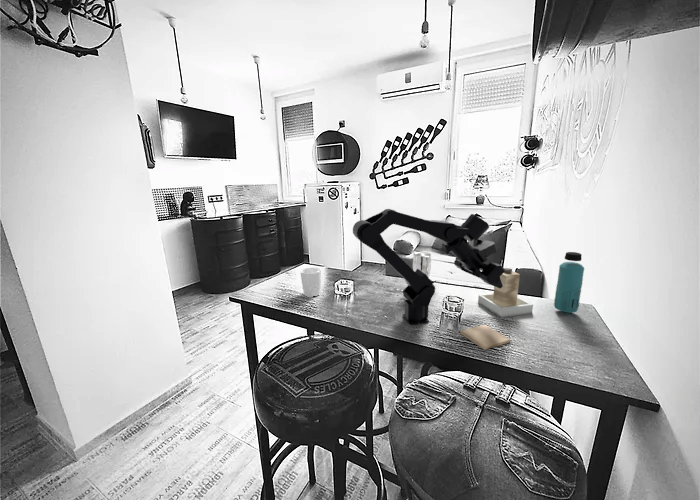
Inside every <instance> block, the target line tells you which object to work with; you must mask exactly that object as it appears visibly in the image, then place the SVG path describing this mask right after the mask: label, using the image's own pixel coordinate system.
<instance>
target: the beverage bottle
mask: <svg viewBox="0 0 700 500" xmlns="http://www.w3.org/2000/svg"><path fill="white" fill-rule="evenodd" d="M564 260H566V261H564V262H562V263H561V264H560V265H559V269H558V275H557V283H556V285H555V287H556V288H555V295H554V298H553V299H554V302H553V307H554V308H555V309H556V310H558V311H561V312H565V313H573V314H574V313H577V312H578V311H579V310H578V309H579V308H580V301H581V299H580V298H581V293H582V286H583V281H584V272H585V267H584V266H583V265H582V264H581V263H579V262H581V261H582V253H580V252H577V251H567V252H565V255H564Z"/></svg>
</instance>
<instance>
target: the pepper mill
mask: <svg viewBox="0 0 700 500" xmlns="http://www.w3.org/2000/svg"><path fill="white" fill-rule="evenodd" d="M503 268H504V269H505V272H504V273H503V274H502V275H501V276H500V279H501V282H502V285H503V287H502V288H501V289H500V288H498V287H495V286H493V293H494V294H493V302H494V303H495V304H497V305H498V306H500V307H509V306H516V303H517V297H518V294H519V286H520V284H519V283H520V276H521V275H520V273H518V272H515V271H513V268H509V267H503Z"/></svg>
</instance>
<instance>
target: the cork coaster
mask: <svg viewBox="0 0 700 500" xmlns="http://www.w3.org/2000/svg"><path fill="white" fill-rule="evenodd" d="M459 334H460V335H462V336H463V337H465V338H466V339H468V340H469V341H471V343H473V344H475V345H477V346H478V347H480V348H481V349H483V350H484V351H486V350H489V349H492V348H496V347H499V346H502V345H506V344H508V343H510V342H511V338H509V337H507V336H505V335H503V334H502V333H500V332H498V331H497V330H495V329H493V328H492V327H490V326H487V325H486V324H481V325H477V326H473V327H470V328H466V329H462V330H460V333H459Z"/></svg>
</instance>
